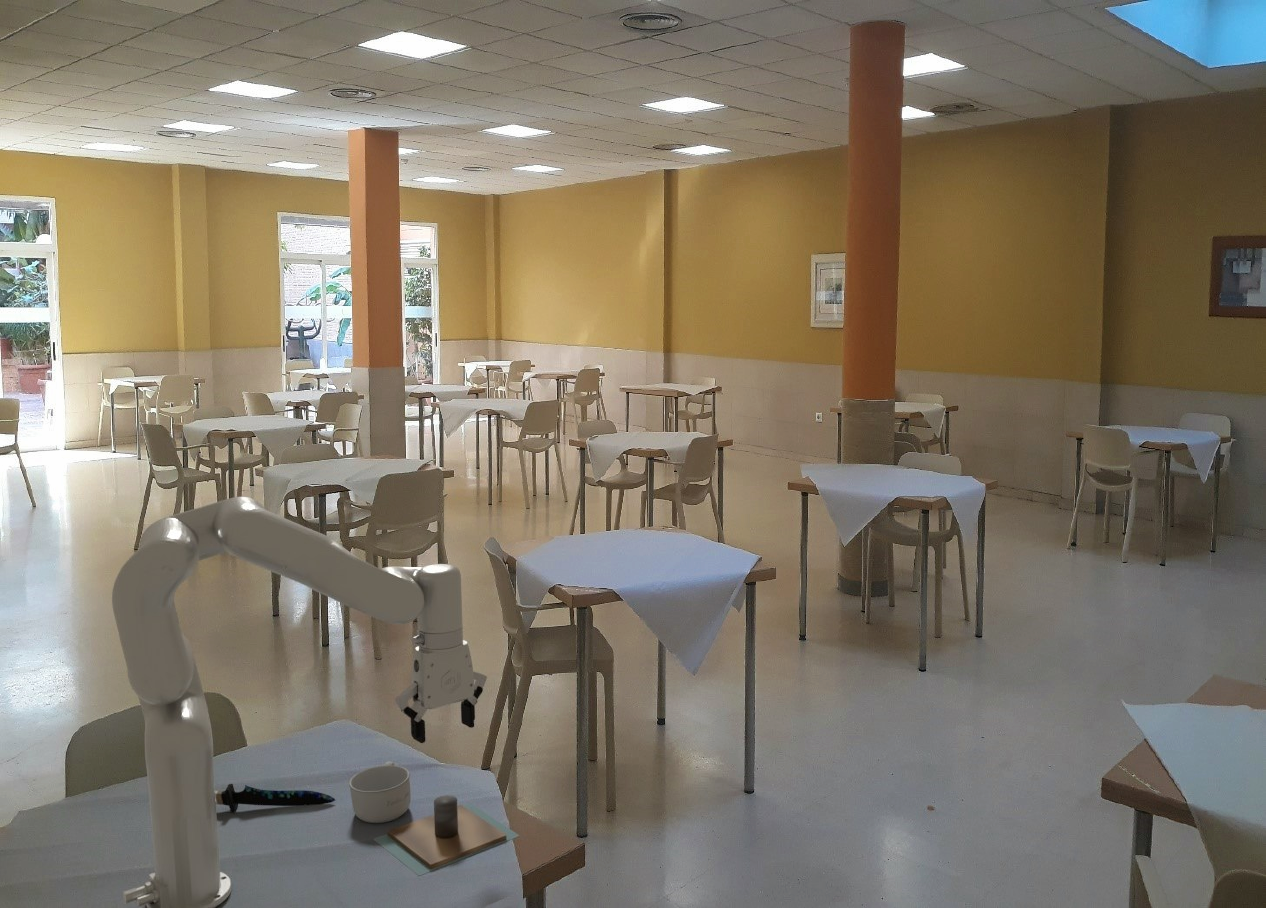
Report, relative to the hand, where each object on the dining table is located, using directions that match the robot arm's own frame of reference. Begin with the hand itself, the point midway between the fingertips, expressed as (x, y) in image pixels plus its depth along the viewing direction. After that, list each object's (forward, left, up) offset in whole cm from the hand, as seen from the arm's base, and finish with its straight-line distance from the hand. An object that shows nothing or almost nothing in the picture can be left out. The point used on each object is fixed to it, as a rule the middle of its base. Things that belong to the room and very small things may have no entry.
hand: (443, 732), depth 185 cm
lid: (0, 0, -19) cm, 19 cm away
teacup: (-3, +17, -20) cm, 27 cm away
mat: (0, 0, -20) cm, 20 cm away
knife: (-21, +35, -20) cm, 46 cm away
